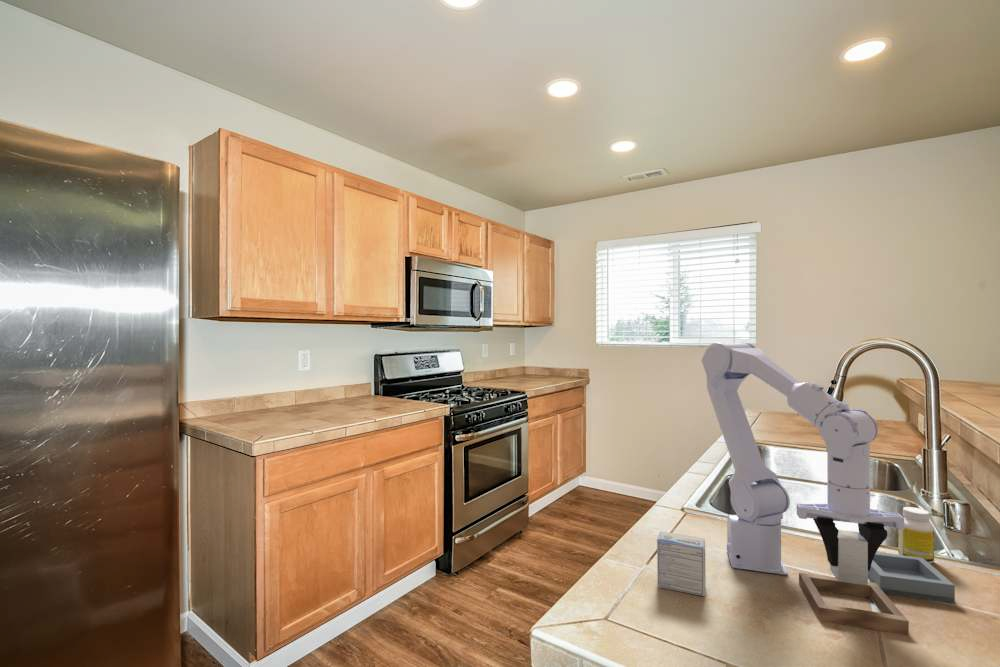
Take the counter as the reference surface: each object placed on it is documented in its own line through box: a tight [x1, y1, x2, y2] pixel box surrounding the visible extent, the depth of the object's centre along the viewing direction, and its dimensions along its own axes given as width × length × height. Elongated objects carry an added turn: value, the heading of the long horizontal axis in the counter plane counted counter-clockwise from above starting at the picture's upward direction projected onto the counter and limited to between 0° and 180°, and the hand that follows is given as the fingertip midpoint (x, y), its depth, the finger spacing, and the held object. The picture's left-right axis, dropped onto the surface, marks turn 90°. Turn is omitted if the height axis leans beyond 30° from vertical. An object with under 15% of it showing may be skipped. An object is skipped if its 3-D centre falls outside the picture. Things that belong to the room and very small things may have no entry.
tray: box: [868, 551, 956, 604], centre depth 86 cm, size 10×10×3 cm
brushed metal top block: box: [829, 529, 869, 585], centre depth 79 cm, size 4×4×7 cm
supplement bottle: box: [897, 506, 935, 565], centre depth 96 cm, size 5×5×10 cm
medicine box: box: [656, 530, 707, 597], centre depth 85 cm, size 8×4×9 cm, turn 65°
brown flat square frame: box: [798, 572, 910, 635], centre depth 79 cm, size 12×12×2 cm
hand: (848, 565), depth 79 cm, fingers closed on brushed metal top block, 4 cm apart
